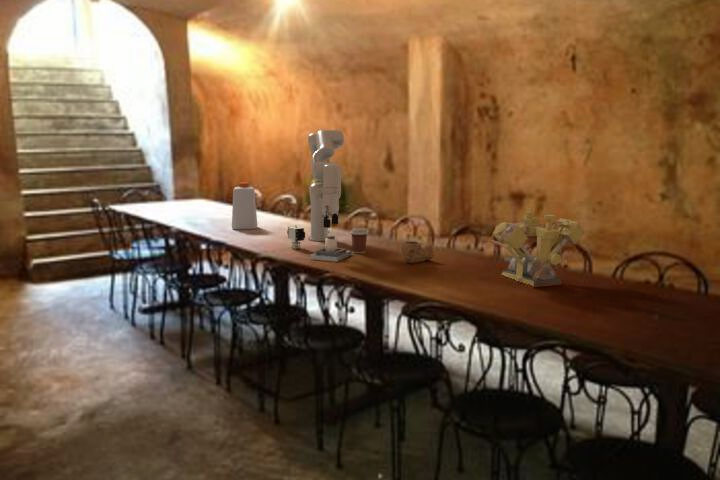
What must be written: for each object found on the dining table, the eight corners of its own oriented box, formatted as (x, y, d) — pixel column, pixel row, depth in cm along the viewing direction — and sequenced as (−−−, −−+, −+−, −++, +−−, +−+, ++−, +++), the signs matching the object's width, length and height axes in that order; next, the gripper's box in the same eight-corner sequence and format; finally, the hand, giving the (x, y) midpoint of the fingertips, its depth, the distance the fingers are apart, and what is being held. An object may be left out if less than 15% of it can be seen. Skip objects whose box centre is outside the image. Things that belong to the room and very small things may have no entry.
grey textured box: (436, 261, 290) (436, 240, 288) (412, 266, 279) (413, 244, 278) (421, 258, 297) (422, 238, 295) (398, 263, 286) (398, 241, 284)
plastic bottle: (233, 226, 385) (232, 181, 380) (257, 226, 387) (257, 181, 382) (231, 230, 370) (229, 183, 365) (256, 230, 372) (255, 183, 367)
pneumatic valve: (297, 250, 311) (297, 227, 309) (287, 246, 321) (286, 224, 319) (306, 249, 314) (306, 226, 312) (296, 245, 324) (296, 223, 322)
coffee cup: (356, 249, 316) (357, 226, 314) (371, 251, 311) (371, 228, 309) (346, 252, 309) (346, 228, 306) (361, 254, 303) (361, 230, 301)
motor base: (325, 252, 308) (325, 245, 307) (351, 254, 303) (351, 247, 302) (309, 259, 291) (309, 252, 290) (337, 261, 286) (337, 254, 286)
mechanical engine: (521, 297, 230) (526, 217, 225) (467, 275, 263) (470, 205, 258) (600, 287, 246) (606, 213, 240) (539, 268, 279) (543, 202, 273)
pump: (328, 251, 300) (328, 235, 299) (338, 252, 298) (338, 236, 297) (323, 253, 295) (323, 237, 294) (334, 254, 293) (334, 237, 292)
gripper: (331, 187, 300) (331, 222, 304) (316, 192, 285) (316, 228, 288) (345, 188, 298) (345, 223, 301) (331, 193, 282) (330, 229, 286)
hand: (330, 225), depth 295 cm, fingers open, 9 cm apart
